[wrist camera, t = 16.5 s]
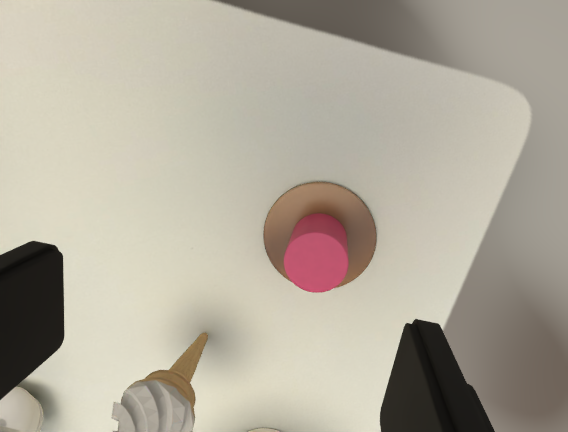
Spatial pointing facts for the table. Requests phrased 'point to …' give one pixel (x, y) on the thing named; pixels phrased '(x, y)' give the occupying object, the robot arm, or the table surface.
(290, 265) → the pink cylinder block
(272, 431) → the cup
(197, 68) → the table surface
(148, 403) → the ice cream cone
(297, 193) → the coaster
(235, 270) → the table surface
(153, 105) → the table surface
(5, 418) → the headphones
